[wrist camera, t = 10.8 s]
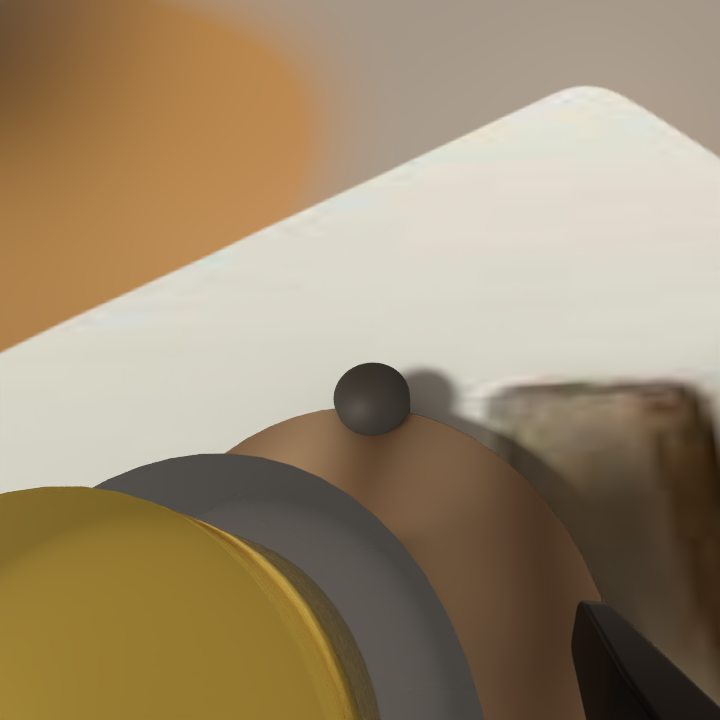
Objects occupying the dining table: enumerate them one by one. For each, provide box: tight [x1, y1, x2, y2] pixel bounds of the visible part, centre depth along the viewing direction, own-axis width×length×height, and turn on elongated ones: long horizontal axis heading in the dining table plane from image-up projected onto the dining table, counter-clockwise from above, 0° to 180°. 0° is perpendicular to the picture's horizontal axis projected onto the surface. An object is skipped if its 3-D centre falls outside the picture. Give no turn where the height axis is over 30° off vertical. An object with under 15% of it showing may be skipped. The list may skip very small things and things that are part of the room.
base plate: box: [225, 363, 602, 720], centre depth 15 cm, size 17×18×2 cm
